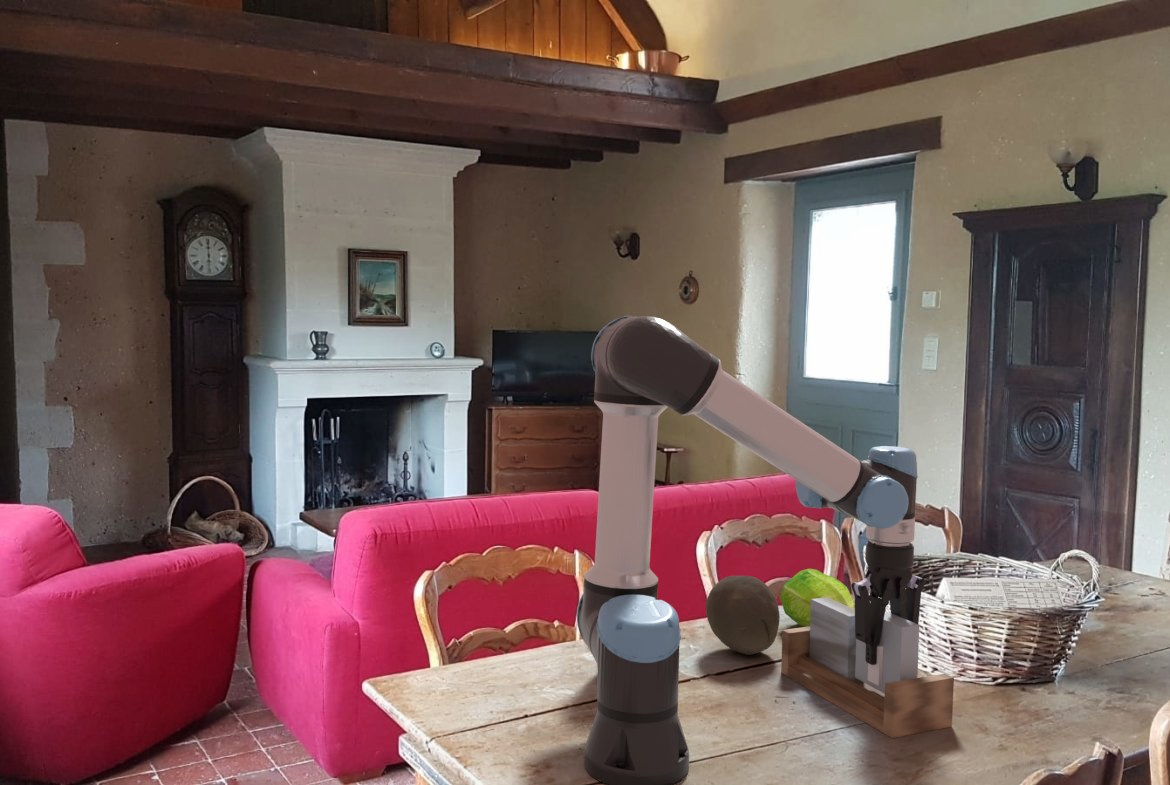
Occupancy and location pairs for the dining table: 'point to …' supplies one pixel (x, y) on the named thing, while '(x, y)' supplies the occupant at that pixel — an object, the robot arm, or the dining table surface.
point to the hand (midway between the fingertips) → (885, 680)
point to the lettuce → (811, 594)
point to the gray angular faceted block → (892, 652)
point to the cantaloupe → (743, 614)
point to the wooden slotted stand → (829, 671)
